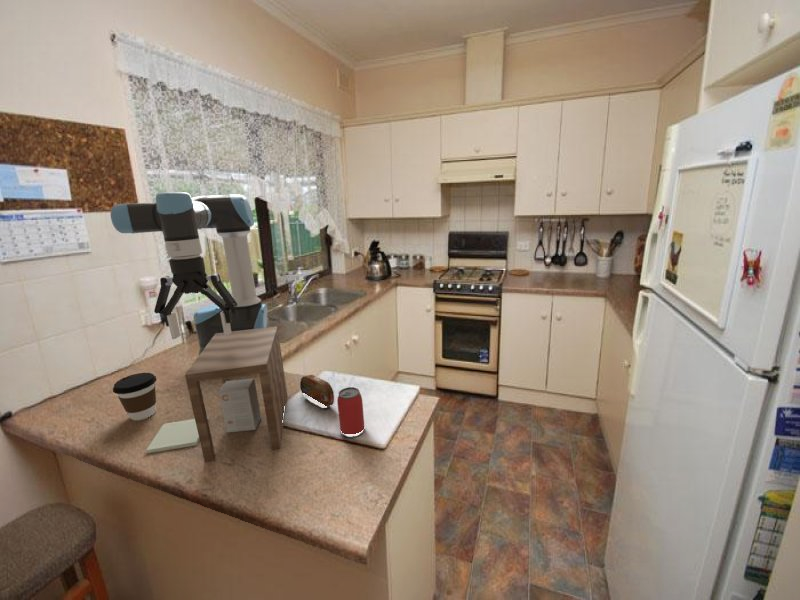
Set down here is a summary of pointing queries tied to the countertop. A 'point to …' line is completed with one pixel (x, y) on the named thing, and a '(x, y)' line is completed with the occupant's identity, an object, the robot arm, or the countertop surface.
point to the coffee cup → (137, 395)
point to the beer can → (350, 411)
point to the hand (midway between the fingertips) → (202, 336)
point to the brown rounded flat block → (317, 389)
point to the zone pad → (175, 436)
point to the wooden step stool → (240, 358)
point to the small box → (240, 405)
